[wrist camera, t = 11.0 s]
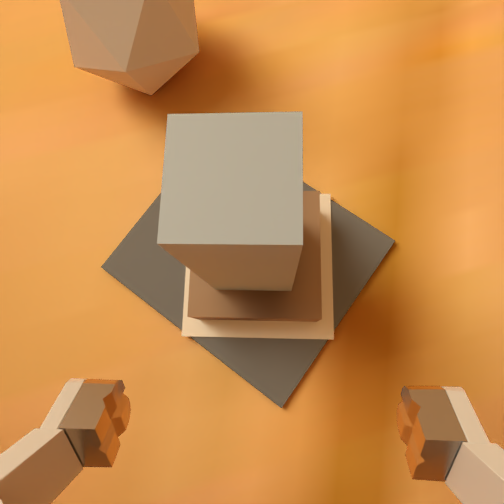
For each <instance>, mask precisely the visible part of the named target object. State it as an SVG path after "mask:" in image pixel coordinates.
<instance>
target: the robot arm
mask: <svg viewBox="0 0 504 504" xmlns="http://www.w3.org/2000/svg"><path fill="white" fill-rule="evenodd" d="M124 389H125V386H124V384H123V381H122V380H102V379H78V378H71V379H70V380H69V381H68V382H66V384H65V385H64V387H63V389H62V390H61V392H60V394H59V396H58V397H57V399H56V401H55V403H54V404H53V406H52V408H51V409H50V411H49V413H48V415H47V416H46V418H45V420H44V422H43V423H42V425H41V427H40V428H34V429H33V430H32V431H31V432H29V433H28V434H27V435H25V436H24V437H23V438H21V439H20V440H19V441H17V442H16V443H15V444H13V445H12V446H11V447H9V448H8V449H7V450H6V451H4V452H3V453H2V454H0V504H51V503H52V502H53V501H54V499H55V498H56V497H57V496H58V495H59V494H60V493H61V492H62V491H63V490H64V489H65V488H66V487H67V486H68V485H69V483H70V482H71V481H72V480H73V479H74V478H75V477H76V476H77V475H78V474H79V473H80V472H81V471H82V470H83V467H112V466H113V463H114V461H115V458H116V455H117V452H118V450H119V447H120V442H119V439H118V437H119V436H120V435H121V434H122V433H123V432H124V431H125V430H126V428H127V425H128V422H129V418H130V411H131V408H130V401H129V398H128V397H127V396H126V395H124V394H123V392H124ZM401 396H402V399H403V401H402V402H401V403H399V404H398V408H397V425H398V431H399V434H400V438H401V440H402V441H403V442H404V443H405V444H406V445H407V450H406V453H405V456H406V459H407V463H408V466H409V470H410V473H411V477H412V479H416V480H431V481H446V482H445V484H446V485H447V486H448V487H449V489H450V490H451V491H452V492H453V493H454V494H455V496H456V497H457V498H458V499H459V500H460V502H461V503H462V504H504V449H503V448H501V447H500V446H499V445H498V444H497V443H490V441H489V439H488V437H487V435H486V433H485V431H484V429H483V427H482V425H481V423H480V421H479V419H478V417H477V415H476V413H475V411H474V408H473V406H472V404H471V402H470V400H469V398H468V396H467V394H466V392H465V390H464V389H463V388H462V387H441V386H404V387H403V388H402V392H401Z"/></svg>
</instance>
